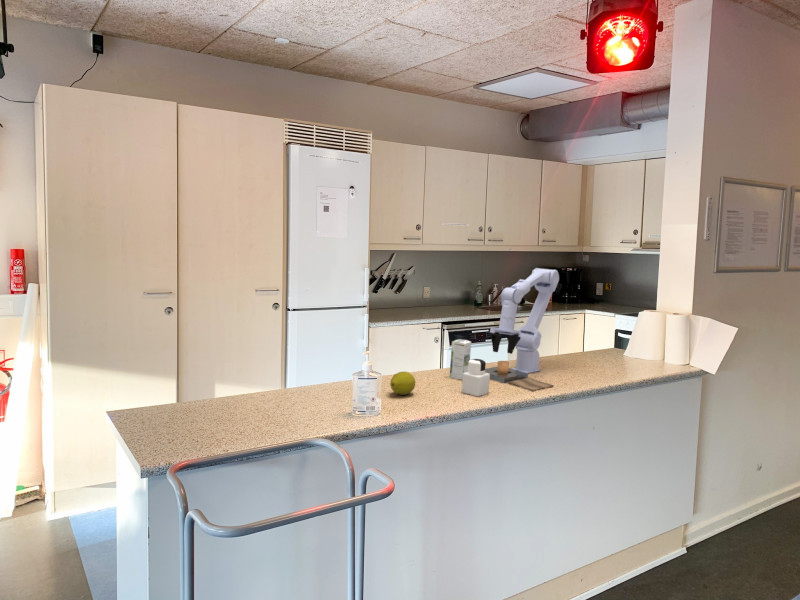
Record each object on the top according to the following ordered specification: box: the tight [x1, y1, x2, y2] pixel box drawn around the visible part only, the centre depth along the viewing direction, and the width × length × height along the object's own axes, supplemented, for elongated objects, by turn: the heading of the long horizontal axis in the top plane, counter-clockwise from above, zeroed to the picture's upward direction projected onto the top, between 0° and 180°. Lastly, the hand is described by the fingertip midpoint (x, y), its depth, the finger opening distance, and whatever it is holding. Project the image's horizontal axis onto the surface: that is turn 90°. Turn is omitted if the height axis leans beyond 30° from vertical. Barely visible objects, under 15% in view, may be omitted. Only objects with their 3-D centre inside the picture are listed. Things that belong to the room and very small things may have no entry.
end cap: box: [496, 360, 510, 374], centre depth 240 cm, size 4×4×6 cm
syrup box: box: [449, 339, 472, 381], centre depth 236 cm, size 6×6×14 cm
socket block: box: [484, 366, 529, 384], centre depth 240 cm, size 14×14×2 cm
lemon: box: [389, 371, 416, 396], centre depth 210 cm, size 11×8×8 cm
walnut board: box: [507, 377, 555, 392], centre depth 230 cm, size 12×12×1 cm
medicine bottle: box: [461, 358, 491, 397], centre depth 216 cm, size 7×7×12 cm
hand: (502, 352), depth 239 cm, fingers open, 7 cm apart
